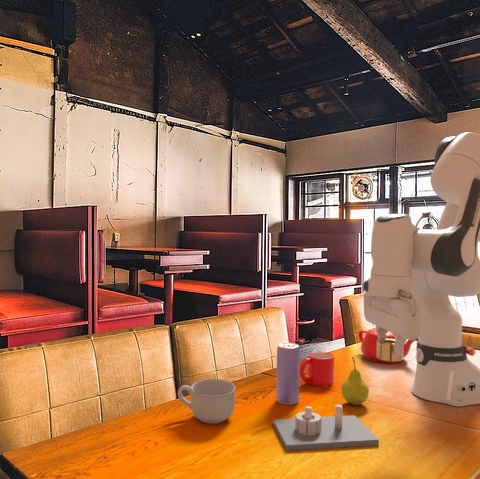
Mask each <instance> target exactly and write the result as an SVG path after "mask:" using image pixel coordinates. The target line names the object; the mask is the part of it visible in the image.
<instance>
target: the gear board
mask: <svg viewBox="0 0 480 479" xmlns="http://www.w3.org/2000/svg"><path fill="white" fill-rule="evenodd" d="M272 426H273V427H274V429H275V431H276V433H277V435H278V437H279V439H280V441H281V443H282V445H283V446H284V448H285V451H286V452H291V451H306V450H321V449H323V450H325V449H337V448H340V449H341V448H355V447H369V446H370V447H371V446H379V444H380V442H379V440H380V439H379V438H378V437H377V436H376V435H375V434H374V433H373V432H372V431H371V430H370V429H369V428H368V427H367V426H366V425H365V424H364V423H363V422H362V421H361V420H360V419H359V418H358V417H357V416H356V415H343V405H341V404H335V406H334V416H321V415H320V414H319V413H316V412H313V407H312V406H307V405H306V406H304V411H301V412H300V411H299V412H298V413H296V414H295V416H294V418H279V419H277V418H276V419H275V418H274V419H273V420H272Z"/></svg>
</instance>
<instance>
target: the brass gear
mask: <svg viewBox="0 0 480 479" xmlns="http://www.w3.org/2000/svg"><path fill="white" fill-rule="evenodd" d="M394 344H395V339H379V340H377V352H376V357H377V358H379V359H382V360H385V361H398V362H401V361H402V360H404V358H405V357H404V347H403V354H402V355H396V354H394V353H393V352H392V350H393V349H392V345H394ZM403 357H404V358H403Z"/></svg>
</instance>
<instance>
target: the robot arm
mask: <svg viewBox="0 0 480 479" xmlns="http://www.w3.org/2000/svg"><path fill="white" fill-rule="evenodd" d="M430 185H431V188H432V190H433V191H434V193H435V195H437V196H438V197H439V198H440V199H441V200H443V201H444V202H446V204H445V207H444V209H443V211H442V212H441V213H442V214H441V215H440V219H439V221H438V223H437V226H436V229H424V228H423V229H422V228H420V227H418V226H416V225H415V224H413V223H412V219H411V216H410V214H406V213H391V214H384V215H381V216H379V217H377V218H376V219H375V221H374V223H373V226H372V233H371V242H370V244H371V245H370V255H371V258H372V265H371V266H372V267H371V270H370V277H369V278H368V279H366V280H365V281H363V282H362V284H361V285H362V286H361V287H362V288H361V289H362V291H363V292H364V293H363V315H364V318H365V321H366V322H367V323H370V324H372V325H374V326H375V329H376V332H377V336H378V340H379V339H387V336H386V330H387V331H389V332H391V333H393V334H394V339H396V340H395V344H394V345H392V349H393V350H392V352H393V353H394V354H396V355H402V354H403V347H404V345H405V344H406V342H407V341H408V340H409V339H413V340H416V339H417V340H416V347H415V348H416V349H415V350H416V353H415V356H416V357H415V358H416V368H415V369H416V370H415V376H414V379H413V384H412V387H411V388H410V390H411V393H412V394H413V395H415V396H416V397H418V398H421V399H423V400H426V401H430V402H435V403H441V404H445V405H450V406H453V407H466V406H472V405H479V404H480V368H479V367H478V366H477V365H476V364H475V363H473V362H472V361H471V360H469V359H468V355H469V356H470V357H471V356H472V357H473V356H475V354H476V352H477V351H476V350H475V348H473V347H470V346H467V347H466V346H465V345H463V344H462V340H463V339H462V338H463V337H462V334H463V318H462V316H461V314H460V312H458V311H457V309H455V307H454V306H453V304H452V303H451V301H450V300H451V299H450V297H449V296H451V297H456V298H464V297H465V298H466V297H474V296H477V295H479V294H480V257H479V252H478V247H479V246H478V244H479V239H480V133H478V132H471V131H468V132H464V133H463V132H462V133H461V134H458V135H457V136H449V137H445V138H444V139H442V140H441V141H440V142H439V143H438V145H437V147H436V150H435V153H434V167H433V169H432V171H431V175H430Z"/></svg>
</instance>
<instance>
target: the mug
mask: <svg viewBox="0 0 480 479" xmlns="http://www.w3.org/2000/svg"><path fill="white" fill-rule="evenodd" d="M306 357H307V358H305V359H304V360H303V361H302V362H301V364H300V365H299V379H300V380H302V382H304V383H309V384H310V385H313V386H320V387H321V386H323V387H324V386H326V387H327V386H331V385H333V384H334V383H335V380H334V379H335V355H334V354H332V353H330V352H325V351H323V352H322V351H314V352H309V353H308V354H307V356H306ZM306 367H307V368H306ZM305 369H307V370H306V375H305Z"/></svg>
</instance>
